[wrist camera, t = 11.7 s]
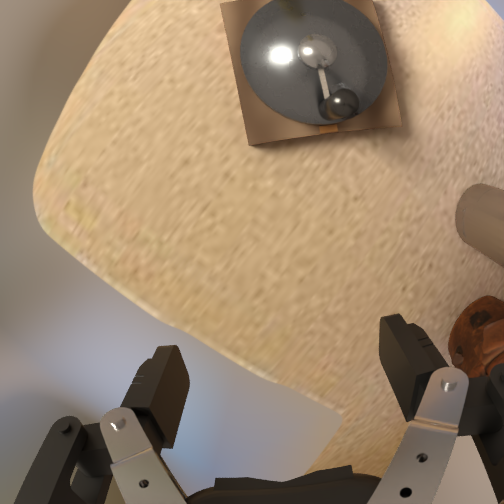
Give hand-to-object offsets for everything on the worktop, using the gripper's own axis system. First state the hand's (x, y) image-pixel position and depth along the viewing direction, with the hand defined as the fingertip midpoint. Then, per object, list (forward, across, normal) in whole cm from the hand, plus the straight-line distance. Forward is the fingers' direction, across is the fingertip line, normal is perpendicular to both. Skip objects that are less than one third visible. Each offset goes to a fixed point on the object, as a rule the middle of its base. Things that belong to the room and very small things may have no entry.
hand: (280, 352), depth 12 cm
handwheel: (+25, -8, -17) cm, 31 cm away
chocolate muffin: (+28, -32, +25) cm, 50 cm away
